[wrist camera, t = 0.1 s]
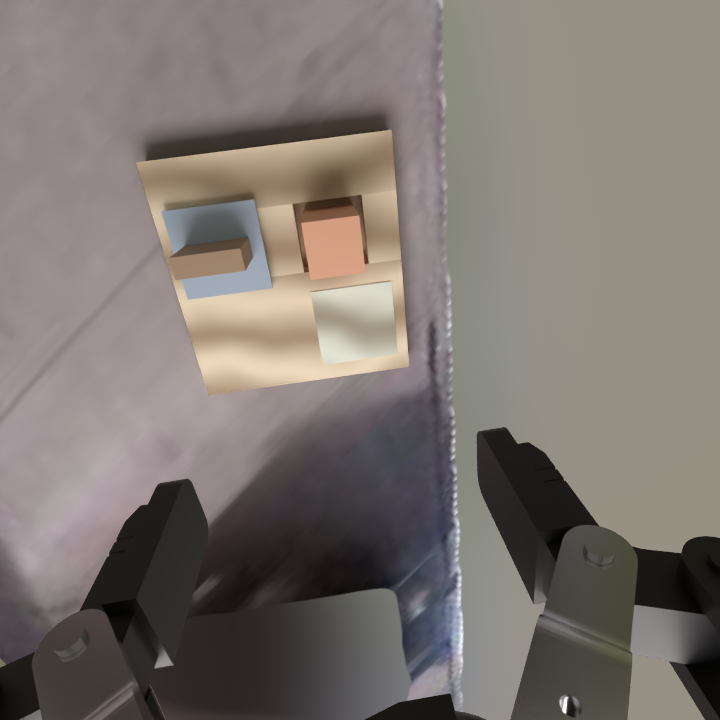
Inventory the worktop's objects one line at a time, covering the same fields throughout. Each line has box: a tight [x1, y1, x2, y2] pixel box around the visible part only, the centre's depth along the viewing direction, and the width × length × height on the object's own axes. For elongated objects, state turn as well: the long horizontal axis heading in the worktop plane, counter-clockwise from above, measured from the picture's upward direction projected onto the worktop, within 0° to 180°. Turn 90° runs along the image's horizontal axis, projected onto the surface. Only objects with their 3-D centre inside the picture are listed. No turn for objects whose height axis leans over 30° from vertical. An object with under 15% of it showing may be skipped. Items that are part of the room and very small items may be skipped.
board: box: [136, 130, 409, 395], centre depth 38 cm, size 20×19×2 cm
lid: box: [161, 199, 273, 300], centre depth 33 cm, size 7×7×5 cm
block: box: [301, 204, 366, 280], centre depth 34 cm, size 4×4×7 cm
